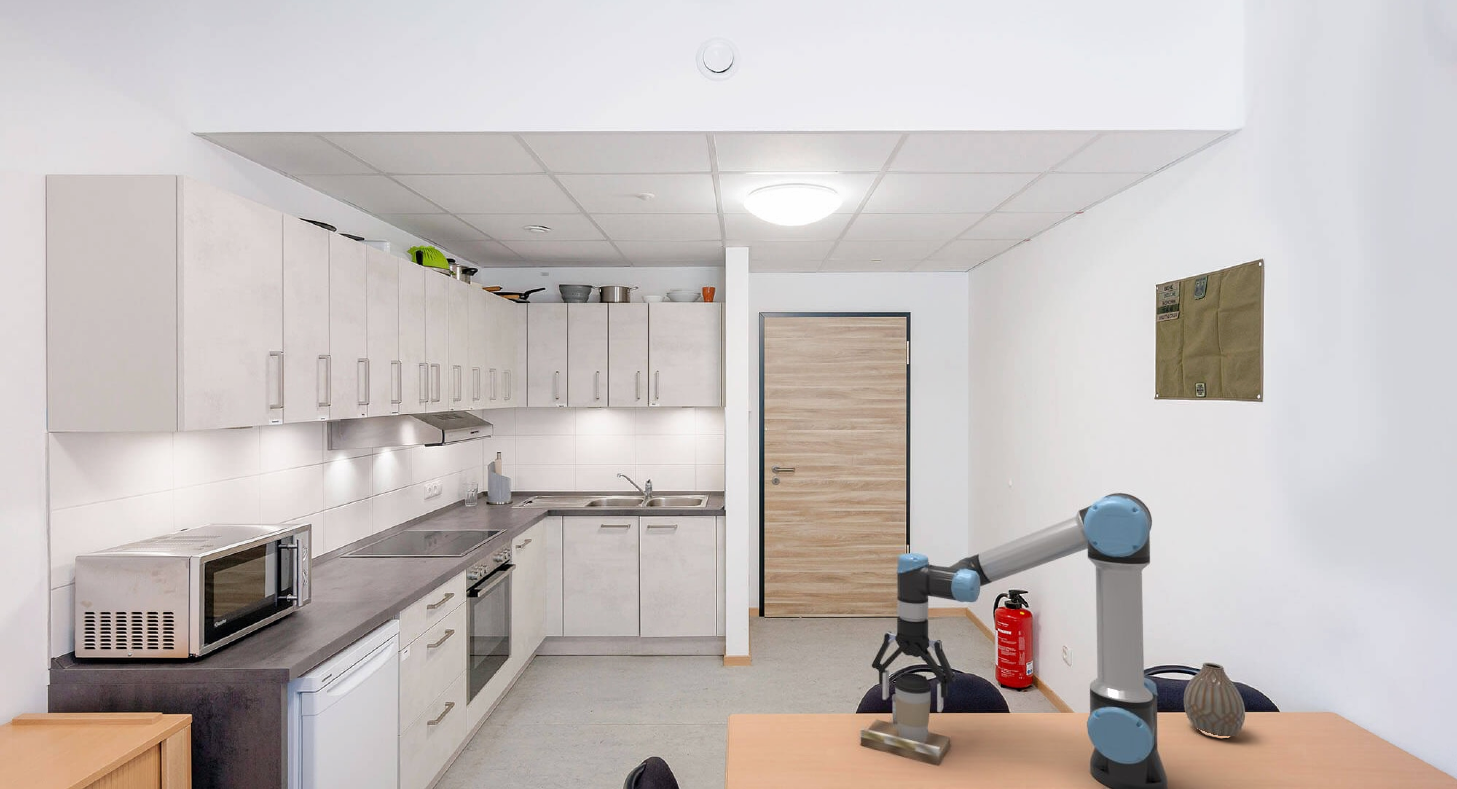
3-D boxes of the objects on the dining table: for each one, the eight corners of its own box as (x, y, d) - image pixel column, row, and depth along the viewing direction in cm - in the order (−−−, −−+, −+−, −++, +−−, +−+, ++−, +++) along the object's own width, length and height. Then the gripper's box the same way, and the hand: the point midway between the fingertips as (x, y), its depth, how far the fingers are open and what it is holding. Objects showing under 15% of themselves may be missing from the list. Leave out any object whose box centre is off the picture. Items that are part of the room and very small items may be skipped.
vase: (1172, 725, 184) (1171, 659, 185) (1208, 719, 188) (1207, 654, 188) (1220, 748, 171) (1219, 676, 172) (1258, 741, 175) (1257, 671, 176)
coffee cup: (894, 744, 167) (894, 681, 168) (893, 727, 176) (893, 668, 176) (933, 748, 165) (933, 684, 166) (930, 731, 174) (930, 671, 175)
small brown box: (950, 745, 171) (950, 729, 171) (938, 766, 161) (938, 749, 161) (876, 727, 181) (876, 712, 181) (860, 745, 170) (860, 729, 170)
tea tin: (912, 723, 183) (912, 695, 184) (907, 730, 179) (907, 701, 180) (895, 719, 186) (895, 692, 186) (889, 725, 182) (889, 698, 182)
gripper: (967, 621, 168) (967, 709, 168) (869, 606, 181) (869, 688, 180) (960, 629, 162) (960, 721, 161) (859, 613, 175) (859, 698, 174)
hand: (912, 704), depth 171 cm, fingers open, 13 cm apart
